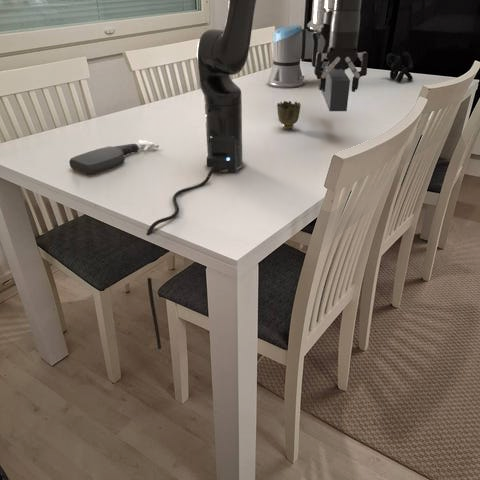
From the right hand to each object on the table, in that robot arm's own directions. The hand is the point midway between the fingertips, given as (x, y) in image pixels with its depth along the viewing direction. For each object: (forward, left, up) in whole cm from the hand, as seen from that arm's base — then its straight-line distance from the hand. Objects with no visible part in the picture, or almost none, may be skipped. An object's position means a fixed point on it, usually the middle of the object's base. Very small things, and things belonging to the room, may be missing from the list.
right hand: (329, 89), depth 146 cm
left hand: (+19, -4, +4) cm, 20 cm away
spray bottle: (+21, -68, -11) cm, 72 cm away
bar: (+9, -2, -1) cm, 9 cm away
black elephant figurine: (-51, +51, -11) cm, 73 cm away
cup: (+5, -15, -11) cm, 19 cm away
